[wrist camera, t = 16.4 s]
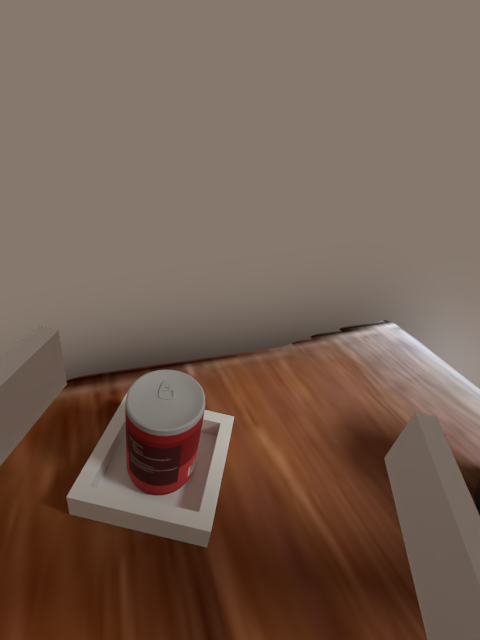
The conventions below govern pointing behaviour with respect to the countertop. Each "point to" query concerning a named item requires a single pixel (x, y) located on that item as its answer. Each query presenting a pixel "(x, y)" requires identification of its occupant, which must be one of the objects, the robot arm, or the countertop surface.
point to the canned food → (163, 430)
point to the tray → (145, 509)
